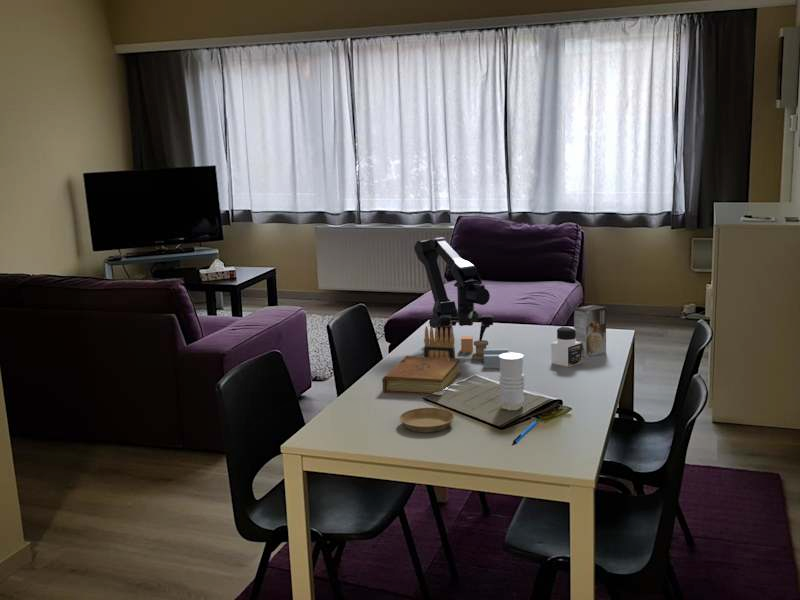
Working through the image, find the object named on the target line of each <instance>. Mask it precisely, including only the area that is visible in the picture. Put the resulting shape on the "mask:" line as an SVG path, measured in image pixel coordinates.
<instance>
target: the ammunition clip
mask: <svg viewBox="0 0 800 600" xmlns="http://www.w3.org/2000/svg"><path fill="white" fill-rule="evenodd" d="M453 333H454V328H453V329H452V327H451V329H450V339H449V336H448V329H447V327H446V329H445V339H444V335H443V329H442V327H441V328H440V339H439V335H438V328H437V327H436V328H432V326H431V327H429V329H428V326H427V325H426V326H425V328H424V339H423V340H424V342H423V343H424V349H423V352H424V353H423V354H424V355H423V357H438V358H456V349H455V348H456V347H455V335H454V336H453ZM434 342H435V344H434Z"/></svg>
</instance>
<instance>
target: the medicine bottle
mask: <svg viewBox="0 0 800 600" xmlns="http://www.w3.org/2000/svg"><path fill="white" fill-rule="evenodd" d="M575 340H576V330H575V329H574V327H572V326H561V327H558V328H557V329H556V341H554V342H551V344H550V345H551V346H550V348H551V351H550V352H551V357H550V358H551V364H552V365H557V366H561V367H566V368H571V367H573V366H576V365H579V364H581V363H583V362H582V361H583V359H582V357H583V356H582V343H581V342H578V341H575Z"/></svg>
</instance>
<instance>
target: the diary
mask: <svg viewBox="0 0 800 600" xmlns="http://www.w3.org/2000/svg"><path fill="white" fill-rule="evenodd" d="M460 362H461V358H459V357H458V358H457V357H455V358H438V357H424V356H411V355H409V356H408V355H407V356H405V357H404V358H403V359H402V360H401V361H400V362H399V363H397V364H396V365H395V366H394V367H393V368H392V369H391V370H390V371H388V373H386V374H385V376H383V377H382V378H381V379H382V380H381V383H382V392H383V393H387V394H388V393H389V394H401V395H402V394H403V395H404V394H406V395H407V394H408V395H423V396H428V395H427V394H433V393H435V392H439V391H442V390H443V389H445V388H446V387H448V386H450V385H451V384H452V385H453V384H454V382H455V381H456V380H457V379H458V377H459V376H460V375H461V371H460V372H459V363H460ZM452 385H451V386H452ZM451 386H450V387H451Z"/></svg>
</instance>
